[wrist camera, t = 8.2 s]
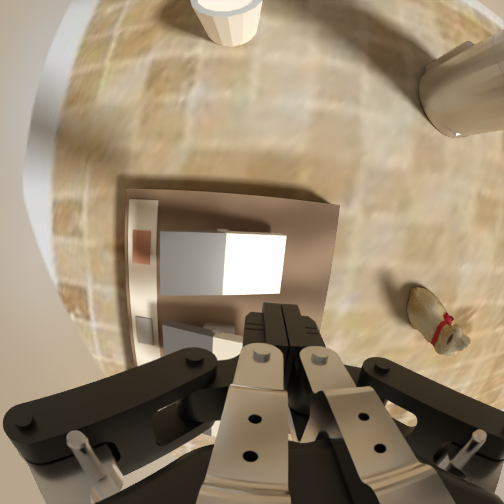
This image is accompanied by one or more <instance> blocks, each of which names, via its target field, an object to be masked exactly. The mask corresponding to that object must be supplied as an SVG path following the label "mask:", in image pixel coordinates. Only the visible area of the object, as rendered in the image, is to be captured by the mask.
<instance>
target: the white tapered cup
mask: <svg viewBox="0 0 504 504" xmlns="http://www.w3.org/2000/svg"><path fill="white" fill-rule="evenodd" d="M190 1H191V4H192V7H193V9H194V11H195V13H196V14H197V16H198V18H199V20H200V22H201V23H202V25H203V27H204V29H205V31H206V33H207V34H208V36H209V38H210V39H211V40H212V41H213V42H214V43H217V44H219V45H222V46H237V45H241V44H244V43H246V42H248V41H249V40H251V39H252V38H253V37H254V35H255V34H256V31H257V26H258V21H259V16H260V11H261V6H262V1H263V0H190Z"/></svg>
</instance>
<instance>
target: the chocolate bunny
mask: <svg viewBox="0 0 504 504" xmlns="http://www.w3.org/2000/svg"><path fill="white" fill-rule="evenodd" d="M407 312H408V316H409V321H410V322H411V325H412V326H413V327H414V328H415V329H417V330H418V331H419V332H421V333H422V335H423V336H424V338H425V339H426V340H427V341H428V342H430V343H431V344H432V345H433V346H434V348H435V351H436V352H437V353H438V354H443V355H447V356H452V357H453V356H455V355H456V354H457V353H458V351H463V350H464V349H466V348H467V347H468V346H469V345H470V344H471V340H470V338H469V337H467V336H466V335H465V334H464V333H463V332H462V329H461V327H460V326H459V325H457V324H455V325H453V326H451V323H452V322H451V321H453V320H454V319H453V317H452V316H449V315H448V313H447V312H446V309H445V308H444V306H443V305H442V303H441V302H440V300H439V299H438V298H437V297H436V296H435V295H434V294H433V293H432V292H431V291H430V290H428V289H425V288H420V287H417V288H412V289H411V292H410V298H409V301H408V305H407Z"/></svg>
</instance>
